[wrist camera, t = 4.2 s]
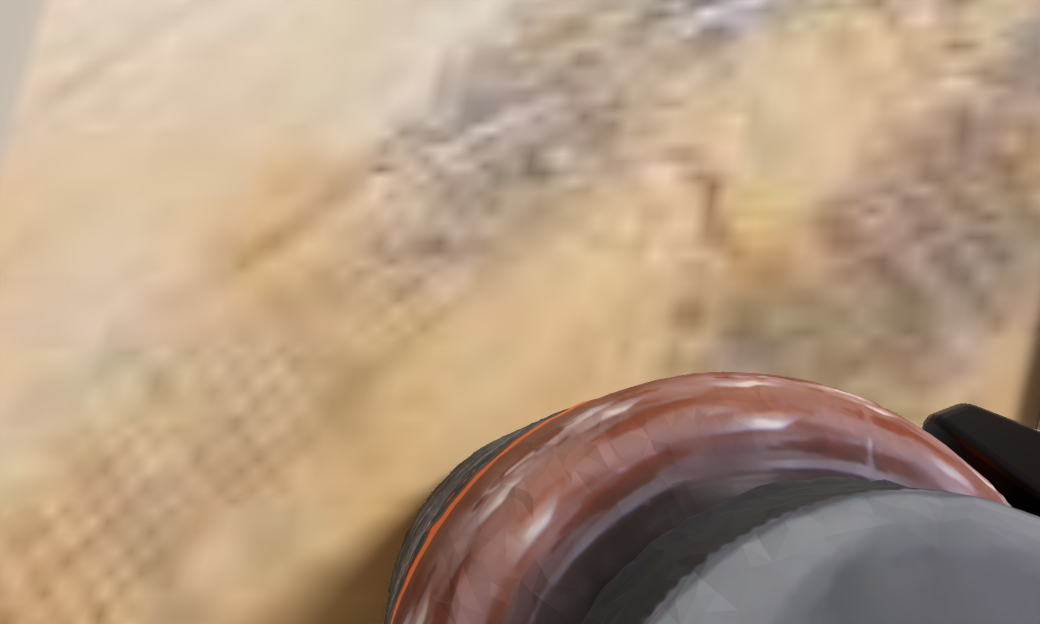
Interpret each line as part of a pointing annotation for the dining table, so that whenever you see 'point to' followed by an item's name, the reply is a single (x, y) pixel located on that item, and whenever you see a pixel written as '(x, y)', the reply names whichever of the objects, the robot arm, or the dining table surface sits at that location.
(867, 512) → the supplement bottle
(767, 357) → the dining table surface
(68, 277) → the dining table surface
